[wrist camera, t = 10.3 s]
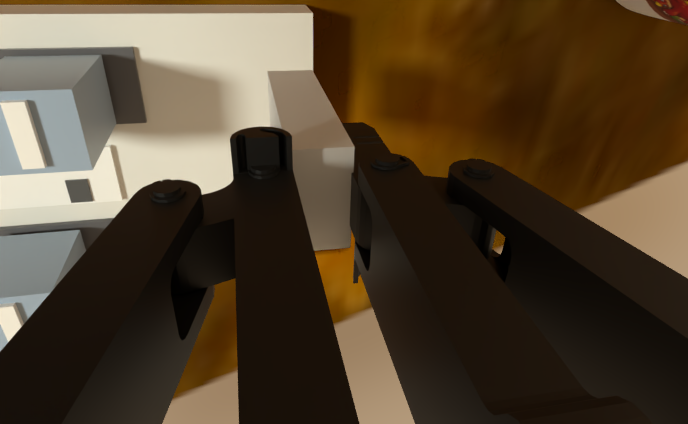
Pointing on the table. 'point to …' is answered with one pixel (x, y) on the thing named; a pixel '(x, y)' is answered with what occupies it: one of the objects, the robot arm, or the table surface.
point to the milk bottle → (660, 9)
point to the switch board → (152, 98)
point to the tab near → (53, 113)
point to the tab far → (32, 273)
